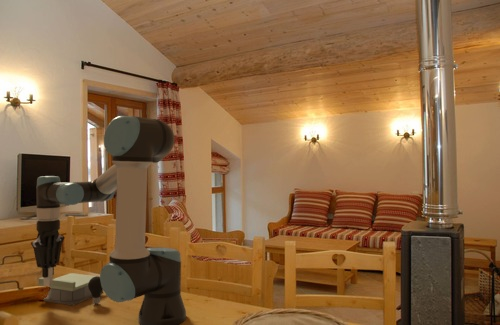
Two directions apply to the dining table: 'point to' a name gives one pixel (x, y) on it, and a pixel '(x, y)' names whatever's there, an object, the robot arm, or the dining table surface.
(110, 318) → the dining table surface
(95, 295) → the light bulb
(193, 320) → the dining table surface
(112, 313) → the dining table surface
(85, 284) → the pale green square board
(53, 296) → the holder
